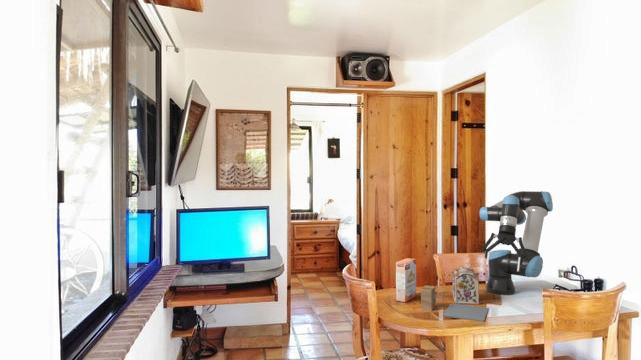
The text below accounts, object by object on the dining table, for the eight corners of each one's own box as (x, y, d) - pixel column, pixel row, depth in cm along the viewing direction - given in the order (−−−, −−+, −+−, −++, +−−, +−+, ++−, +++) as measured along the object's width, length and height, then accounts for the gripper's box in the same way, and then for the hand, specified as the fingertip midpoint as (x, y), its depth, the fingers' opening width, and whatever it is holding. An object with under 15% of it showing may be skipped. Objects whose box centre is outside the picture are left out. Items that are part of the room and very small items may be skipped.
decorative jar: (479, 305, 205) (478, 269, 205) (455, 304, 207) (454, 269, 207) (475, 298, 216) (474, 264, 216) (452, 297, 219) (452, 264, 219)
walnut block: (425, 304, 207) (425, 285, 207) (435, 305, 205) (435, 286, 205) (421, 309, 199) (420, 289, 199) (431, 311, 197) (431, 290, 197)
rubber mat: (450, 304, 206) (450, 303, 206) (488, 309, 198) (488, 307, 198) (442, 316, 189) (442, 315, 189) (484, 321, 180) (483, 320, 180)
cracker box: (406, 303, 210) (405, 263, 210) (395, 301, 213) (394, 261, 213) (417, 296, 221) (416, 258, 221) (407, 295, 225) (406, 257, 225)
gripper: (480, 220, 203) (474, 261, 196) (536, 228, 191) (531, 272, 185) (481, 224, 209) (475, 264, 203) (535, 232, 198) (530, 275, 191)
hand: (502, 268), depth 194 cm, fingers open, 13 cm apart
